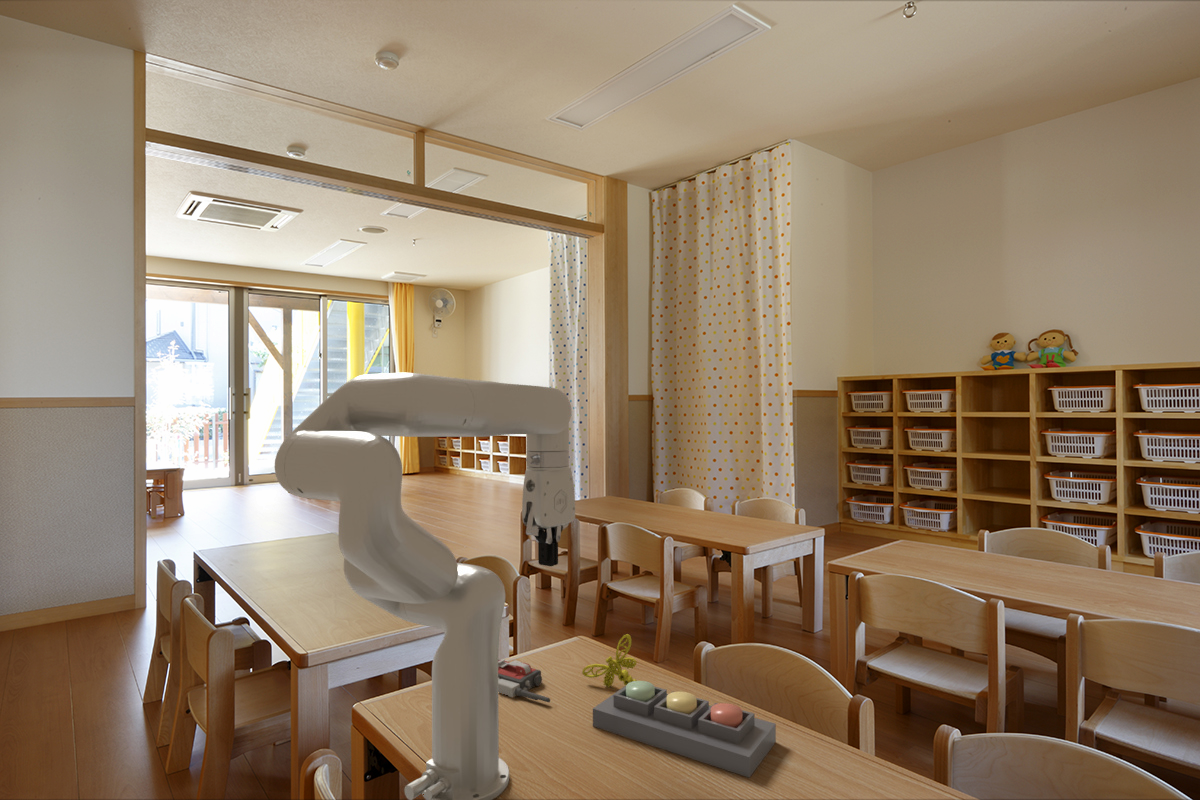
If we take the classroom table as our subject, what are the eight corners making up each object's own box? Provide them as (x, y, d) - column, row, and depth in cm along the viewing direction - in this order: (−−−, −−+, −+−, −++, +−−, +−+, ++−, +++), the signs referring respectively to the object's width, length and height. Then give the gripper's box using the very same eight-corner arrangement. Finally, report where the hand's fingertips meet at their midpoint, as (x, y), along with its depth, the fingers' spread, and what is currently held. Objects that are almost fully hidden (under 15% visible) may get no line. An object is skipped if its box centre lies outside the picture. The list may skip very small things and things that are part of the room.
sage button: (645, 710, 107) (645, 695, 107) (620, 703, 110) (620, 688, 110) (659, 699, 111) (659, 685, 111) (635, 692, 114) (635, 678, 114)
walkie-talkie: (466, 685, 126) (546, 710, 116) (466, 663, 126) (545, 686, 116) (495, 670, 134) (573, 692, 123) (495, 649, 134) (573, 669, 123)
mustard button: (688, 723, 103) (688, 707, 103) (661, 715, 106) (661, 700, 106) (701, 711, 107) (701, 696, 107) (675, 703, 110) (675, 689, 110)
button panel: (749, 777, 93) (749, 743, 93) (592, 726, 109) (592, 696, 109) (775, 742, 103) (775, 711, 103) (628, 699, 119) (628, 672, 119)
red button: (735, 737, 98) (735, 720, 98) (705, 728, 101) (705, 712, 101) (747, 723, 102) (747, 708, 102) (718, 715, 105) (718, 700, 105)
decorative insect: (611, 715, 123) (579, 672, 126) (616, 708, 127) (585, 666, 129) (659, 677, 120) (625, 634, 123) (663, 671, 123) (630, 628, 126)
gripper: (537, 465, 104) (537, 577, 104) (589, 458, 117) (589, 558, 116) (503, 463, 108) (503, 570, 108) (556, 457, 121) (557, 554, 120)
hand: (548, 564), depth 112 cm, fingers closed
